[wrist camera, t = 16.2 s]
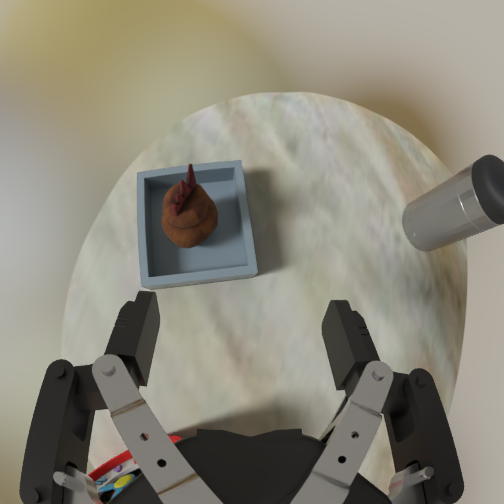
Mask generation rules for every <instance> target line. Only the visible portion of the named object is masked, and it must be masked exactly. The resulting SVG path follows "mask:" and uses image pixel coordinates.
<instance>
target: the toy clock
mask: <svg viewBox="0 0 504 504" xmlns="http://www.w3.org/2000/svg"><path fill="white" fill-rule="evenodd" d="M169 438H170V439H171V441H172V442H173V443H175V442H176V441H178V440H180V439H182V438H181V437H179V436H169ZM141 473H142V471H141V469H140V467H139V466H138V464H137V463H136V461H135V460H134V458H133V456H132V455H131V453H130V451H129V450H127V451H125V452H123V453H121V454H120V455H118V456H116V457H114V458H112V459H111V460H109V461H108V462H106V463H104V464H103V465H101V466H100V467H98V468H97V469H95V470H94V471H93V472H91V473H90V474H89V475H88V476H89V477H91V478H92V479H93V481H94V482H95V484H96V487H97V494H98V497H99V499H100V501H101V502H102V503H103V504H107V503H108V502H109V501H110V500H111V499H112V498H113V497H114V496H116V495H117V494H118V493H119V492H120V491H121V490H123V489H124V488H125V487H126V486H127V485H128V484H130V483H131V482H132V481H133V480H134V479H135V478H136V477H137V476H138V475H140V474H141Z"/></svg>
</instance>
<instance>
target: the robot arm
mask: <svg viewBox="0 0 504 504" xmlns="http://www.w3.org/2000/svg"><path fill="white" fill-rule="evenodd" d="M501 224H504V162H503V161H502V160H501V159H499V158H498V157H496V156H493V155H485V156H483V157H481V158H480V159H479V160H477V161H475V162H474V163H473V164H471V165H469V166H468V167H466V168H465V169H463V170H462V171H460V172H459V173H458V174H456V175H454V176H453V177H451V178H449V179H448V180H446V181H445V182H443V183H442V184H440V185H438V186H437V187H435V188H434V189H432V190H430V191H429V192H427V193H426V194H424V195H422V196H421V197H419V198H417V199H416V200H414V201H412V202H411V203H409V204H408V205H407V206H406V208H405V210H404V213H403V226H404V230H405V233H406V235H407V237H408V239H409V240H410V242H411V243H412V244H413V245H414V246H415V247H416V248H418V249H419V250H422V251H430V250H433V249H436V248H439V247H442V246H445V245H448V244H451V243H454V242H456V241H459V240H462V239H465V238H467V237H470V236H473V235H476V234H478V233H481V232H484V231H486V230H488V229H491V228H494V227H496V226H499V225H501ZM159 327H160V314H159V308H158V302H157V296H156V293H155V292H149V291H139V292H138V294H137V297H136V300H135V302H133V301H128V302H127V303H126V304H125V305H124V306H123V307H122V308H121V309H120V312H119V315H118V317H117V320H116V323H115V327H114V328H113V331H112V334H111V336H110V339H109V342H108V345H107V348H106V351H105V353H104V355H103V356H101V357H99V358H98V359H97V360H96V361H95V362H94V364H91V365H84V366H75V367H73V365H72V364H71V363H70V362H69V361H67V360H63V359H60V360H56V361H54V362H52V363H51V364H50V365H49V367H48V368H47V371H46V374H45V377H44V380H43V383H42V386H41V389H40V393H39V396H38V399H37V403H36V407H35V410H34V414H33V418H32V422H31V427H30V430H29V435H28V439H27V445H26V449H25V455H24V460H23V467H22V473H21V481H20V497H21V500H22V502H23V503H24V504H103V503H102V502H101V501H100V499H99V497H98V494H97V487H96V484H95V482H94V481H93V479H92V478H91V477H89V476H88V475H86V471H87V462H88V453H89V446H90V439H91V432H92V426H93V420H94V415H95V410H103V409H109V411H110V413H111V418H112V420H113V422H114V424H115V426H116V428H117V430H118V432H119V434H120V436H121V437H122V439H123V441H124V443H125V444H126V446H127V448H128V450H129V451H130V453H131V455H132V456H133V458H134V460H135V461H136V463H137V464H138V466H139V467H140V469H141V471H142V473H141V474H140V475H138V476H137V477H136V478H135V479H134V480H133V481H132V482H131V483H130V484H128V485H127V486H126V487H125V488H124V489H123V490H121V491H120V492H119V493H118V494H117V495H116V496H114V497H113V498H112V499H111V500H110V501H109V502H108V503H107V504H453V503H455V502H457V501H458V500H459V499H460V498H461V496H462V494H463V491H464V482H463V477H462V472H461V468H460V464H459V460H458V456H457V452H456V448H455V445H454V441H453V437H452V434H451V431H450V427H449V424H448V421H447V418H446V414H445V411H444V408H443V405H442V402H441V400H440V397H439V394H438V391H437V388H436V386H435V383H434V380H433V378H432V376H431V374H430V373H429V372H428V371H426V370H424V369H421V368H417V369H414V370H412V371H411V373H410V374H403V373H397V372H393V371H392V370H391V368H390V367H389V366H388V365H387V364H386V363H384V362H381V361H380V359H379V356H378V354H377V351H376V348H375V346H374V343H373V341H372V338H371V336H370V333H369V331H368V329H367V326H366V324H365V321H364V319H363V317H362V316H361V315H360V314H359V313H358V312H357V311H352V310H351V307H350V305H349V302H348V301H347V300H331V301H330V303H329V306H328V308H327V311H326V314H325V316H324V319H323V322H322V336H323V339H324V343H325V347H326V351H327V355H328V358H329V362H330V366H331V370H332V374H333V378H334V382H335V386H336V390H345V393H346V395H345V397H344V398H343V400H342V402H341V404H340V406H339V407H338V409H337V411H336V413H335V415H334V416H333V418H332V420H331V422H330V423H329V425H328V427H327V428H326V430H325V431H324V432H323V434H322V435H321V437H320V438H319V440H318V439H316V438H314V437H311V436H307V435H303V434H302V430H301V429H289V430H275V431H272V432H268V433H264V434H260V435H256V436H252V437H249V436H244V435H240V434H235V433H231V432H227V431H224V430H205V429H197V435H191V436H188V437H185V438H182V439H180V440H178V441H176V442H175V443H173V442H172V441H171V439H170V438H169V436H168V435H167V433H166V432H165V431H164V429H163V428H162V426H161V425H160V423H159V422H158V420H157V419H156V417H155V415H154V414H153V412H152V411H151V409H150V408H149V406H148V404H147V403H146V401H145V400H144V399H143V397H142V396H141V394H140V392H139V386H147V383H148V378H149V373H150V368H151V363H152V358H153V354H154V349H155V344H156V340H157V336H158V331H159ZM380 413H382V414H384V418H385V423H386V427H387V431H388V436H389V441H390V446H391V450H392V456H393V461H394V466H395V472H396V474H395V475H394V476H393V477H392V479H391V482H390V486H389V491H390V492H389V494H388V496H387V495H386V494H384V493H383V492H382V491H380V490H379V489H378V488H377V487H375V486H374V485H373V484H372V483H370V482H369V481H368V480H367V479H365V478H364V477H363V476H362V475H361V474H359V473H358V470H359V468H360V466H361V464H362V462H363V460H364V458H365V456H366V454H367V452H368V450H369V448H370V446H371V443H372V441H373V439H374V437H375V434H376V432H377V430H378V428H379V425H380V423H381V420H382V415H380Z"/></svg>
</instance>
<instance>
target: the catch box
mask: <svg viewBox="0 0 504 504" xmlns="http://www.w3.org/2000/svg"><path fill="white" fill-rule="evenodd" d="M188 166H189V165H187V166H179V167H171V168H164V169H157V170H150V171H144V172H138V173H137V225H138V248H139V263H140V276H141V287H144V288H147V289H150V290H153V289H162V288H171V287H180V286H189V285H197V284H206V283H214V282H222V281H230V280H238V279H246V278H253V277H254V276H255V275H256V274H257V273H258V269H257V263H256V256H255V249H254V242H253V236H252V229H251V222H250V215H249V209H248V202H247V195H246V189H245V182H244V175H243V169H242V162H241V160H237V161H225V162H214V163H204V164H195V165H192V166H193V170H194V175H195V179H196V183H197V184H199V185H201V186H202V188H203V189H204V190H205V191H206V193H207V194H208V195H209V197H210V198H211V199H212V200H213V201H214V203H215V206H216V208H217V211H218V225H217V227H216V228H215V230H214V231H213V232H212V234H211V235H210V236H209V237H208V238H207V239H205V240H204V241H203V242H201V243H200V244H199V245H197V246H195V247H192V248H190V249H189V248H181V247H179V246H177V245H176V244H175V243H173V242H172V241H171V240H170V239H169V237H168V236H167V235H166V234H165V232H164V231H163V228H162V224H161V218H162V213H163V208H162V206H163V200H164V197H165V195H166V193H167V191H168V190H169V189H170V188H171V187H172V186H174V185H176V184H178V183H180V181H181V179H182V180H184V182H185V181H186V179H187V172H188Z"/></svg>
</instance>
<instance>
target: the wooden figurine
mask: <svg viewBox="0 0 504 504" xmlns="http://www.w3.org/2000/svg"><path fill="white" fill-rule="evenodd" d="M162 208H163V213H162V218H161V224H162V228H163V231H164V232H165V234H166V235H167V236H168V237H169V239H170V240H171V241H172V242H173V243H175V244H176V245H177V246H179V247H181V248H189V249H190V248H192V247H195V246H197V245H199V244H200V243H201V242H203V241H204V240H205V239H207V238H208V237H209V236H210V235H211V234H212V232H213V231H214V230H215V228H216V227H217V225H218V211H217V208H216V206H215V203H214V201H213V200H212V199H211V198H210V197H209V195H208V194H207V193H206V191H205V190H204V189H203V188H202V186H201V185H199V184H197V183H196V179H195V175H194V170H193V166H192V164H189V166H188V172H187V179H186V181H185V182H184V180H182V179H181V181H180V183H178V184H176V185H174V186H172V187H171V188H170V189H169V190H168V191H167V193H166V195H165V197H164V200H163V206H162Z"/></svg>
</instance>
